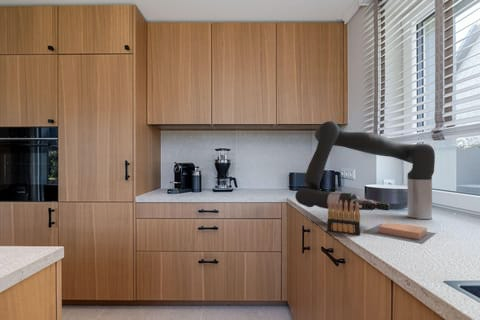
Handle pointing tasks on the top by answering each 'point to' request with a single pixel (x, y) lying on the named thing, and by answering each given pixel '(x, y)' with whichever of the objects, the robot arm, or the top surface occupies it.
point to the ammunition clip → (343, 218)
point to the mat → (375, 232)
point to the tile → (403, 230)
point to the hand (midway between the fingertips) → (389, 207)
